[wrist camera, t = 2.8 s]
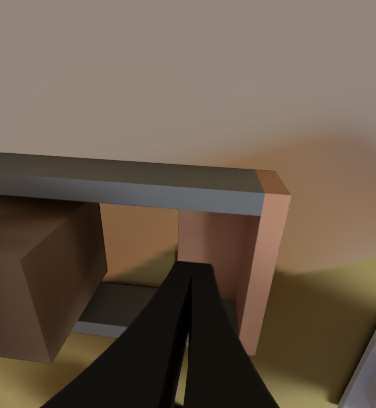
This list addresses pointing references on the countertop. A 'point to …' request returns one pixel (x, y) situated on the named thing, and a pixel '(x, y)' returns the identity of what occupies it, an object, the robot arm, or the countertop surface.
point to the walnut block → (46, 272)
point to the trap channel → (188, 227)
